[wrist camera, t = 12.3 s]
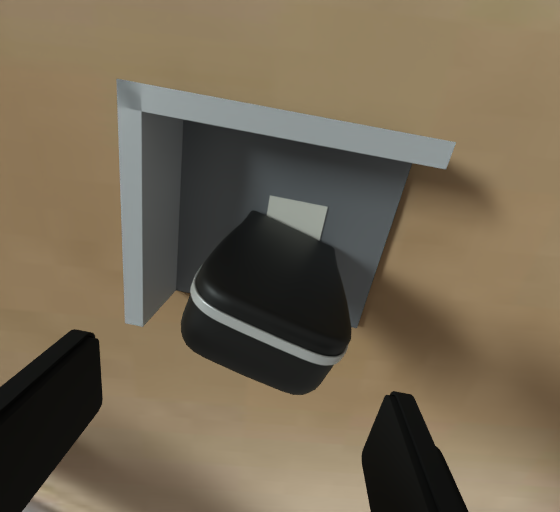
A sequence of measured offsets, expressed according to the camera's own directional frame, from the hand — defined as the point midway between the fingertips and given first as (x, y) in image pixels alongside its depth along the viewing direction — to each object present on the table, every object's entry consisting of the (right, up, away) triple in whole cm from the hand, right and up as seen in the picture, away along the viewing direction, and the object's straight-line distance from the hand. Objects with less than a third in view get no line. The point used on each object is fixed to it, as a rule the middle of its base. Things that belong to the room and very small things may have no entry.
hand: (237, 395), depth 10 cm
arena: (+1, +7, +12) cm, 14 cm away
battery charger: (+2, +5, +12) cm, 13 cm away
